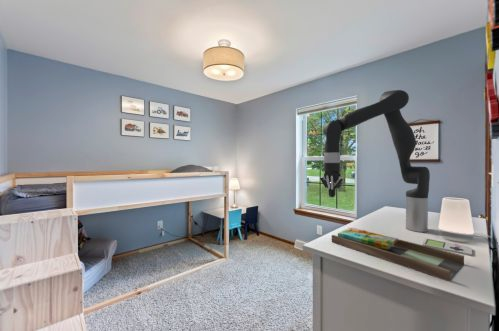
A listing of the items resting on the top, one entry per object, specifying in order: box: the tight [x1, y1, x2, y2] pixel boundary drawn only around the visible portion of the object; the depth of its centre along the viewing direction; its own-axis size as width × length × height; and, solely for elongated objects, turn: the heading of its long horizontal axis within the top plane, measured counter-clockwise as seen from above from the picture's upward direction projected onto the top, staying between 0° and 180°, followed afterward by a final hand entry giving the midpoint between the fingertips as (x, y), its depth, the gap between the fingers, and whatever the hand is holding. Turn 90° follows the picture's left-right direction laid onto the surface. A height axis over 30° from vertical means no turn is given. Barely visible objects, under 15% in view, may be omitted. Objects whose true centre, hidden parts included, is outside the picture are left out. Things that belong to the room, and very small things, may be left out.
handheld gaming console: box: [421, 237, 473, 257], centre depth 92 cm, size 10×2×15 cm
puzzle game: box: [337, 227, 399, 249], centre depth 95 cm, size 12×5×20 cm
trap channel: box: [331, 227, 465, 282], centre depth 87 cm, size 18×40×3 cm, turn 35°
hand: (331, 196), depth 108 cm, fingers closed
